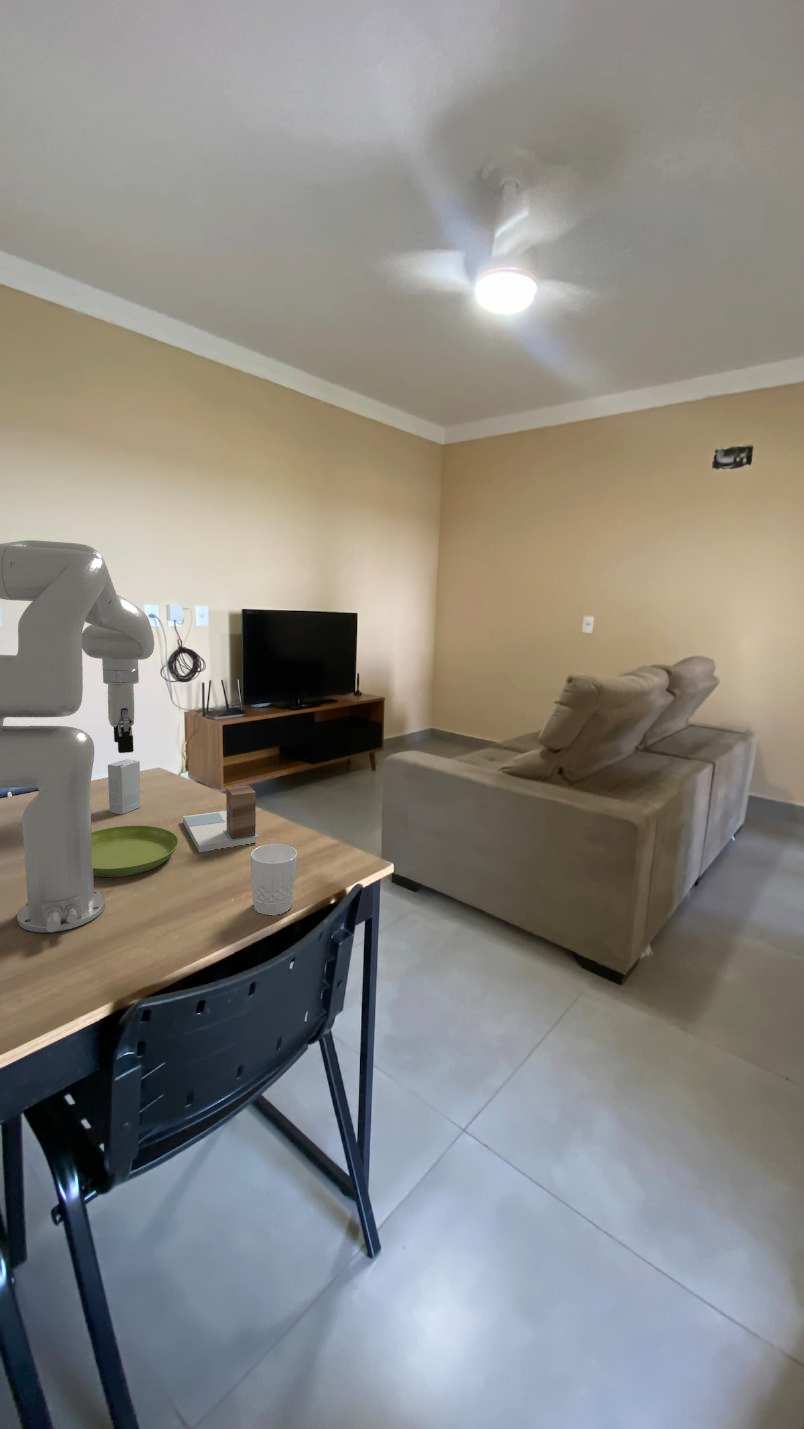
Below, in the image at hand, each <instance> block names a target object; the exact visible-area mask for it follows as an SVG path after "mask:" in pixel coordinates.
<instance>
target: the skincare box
mask: <svg viewBox="0 0 804 1429" xmlns="http://www.w3.org/2000/svg"><path fill="white" fill-rule="evenodd" d="M140 764H141V761H139V760H136V759H135V760H134V759H130V758H126V759H121V760H119V761H116V762H113V763H109V764H107V777H108V805H109V806H108V807H109V808H108V811H109V812H110V813H112V814H117V815H125V814H128V813H130V812H132V811H135V810H137V809H139V808H141V805H142V802H141V798H142V797H141V796H142V795H141V768H140V767H141V766H140Z"/></svg>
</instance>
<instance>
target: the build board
mask: <svg viewBox="0 0 804 1429" xmlns="http://www.w3.org/2000/svg"><path fill="white" fill-rule="evenodd" d="M182 823H183V825H184V827H185V829H186V832H187V833H188V835H189V836H190V838H191V840H192V842H193V843H194V846H195V847H196V849H197V851H198V853H205V852H211V850H212V851H215V850H214V849H218V850H222V849H221V848H224V849H226V848H225V847H230V848H233V847H232V846H236V845H243V844H248V843H255V842H256V843H257V838H260V836H261V835H259V834H258V833H257V830H255V836H250V837H244V838H237V839H232V838H231V836H230V835H229V834H228V832H227V810H221V811H220V810H219V811H214V812H205V813H197V814H190V815H183V816H182ZM256 843H255V844H256ZM243 846H244V845H243Z"/></svg>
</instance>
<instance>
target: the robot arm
mask: <svg viewBox="0 0 804 1429" xmlns="http://www.w3.org/2000/svg"><path fill="white" fill-rule="evenodd" d="M0 599H1V600H5V601H6V600H7V601H19V602H20V601H22V602H26V601H27V602H31V603H29V604H28V606H27V607H26V608H25V609H24V611H23V612H22V614H21V616H20V618H19V620H18V624H17V633H18V634H17V637H18V638H17V642H18V643H17V644H18V646H17V647H18V648H17V653H16V655H14V654H13V655H12V654H11V655H9V654H0V789H1V788H3V789H5V788H30V789H32V788H35V789H38V793H37V795H36V796H35V797H34V798H32V799H31V801H30V802H28V804H27V805H26V807H25V809H24V810H23V813H22V818H21V826H22V827H21V828H22V840H23V841H22V842H23V854H24V866H25V867H24V869H25V880H26V881H25V882H26V896H27V897H26V898H27V902H26V903H24V904H23V905H22V906H21V907H20V908H19V910H18V911H17V915H16V919H17V920H16V921H17V924H18V926H19V927H21V928H22V929H24V930H26V931H29V932H34V933H42V934H43V933H56V932H62V931H66V930H67V931H68V930H72V929H75V928H78V927H80V926H82V925H86V924H87V923H89V922H91V921H93V920H94V919H95V918H97V917H99V915H100V914H101V913H102V912H103V911H104V910H105V906H106V899H105V896H104V895H103V894H102V893H101V892H100V891H97V890H95V881H94V875H93V854H92V832H93V831H92V815H91V812H92V811H91V788H92V787H91V785H92V776H93V768H94V762H95V761H94V760H95V743H94V740H93V739H92V737H91V736H90V735H89V734H88V733H87V732H86V731H84V730H82V729H80V728H77V727H73V726H72V727H71V726H66V725H65V726H64V725H4V720H5V718H63V717H68V716H71V715H73V714H75V713H77V712H78V711H79V709H80V708H81V706H82V702H83V690H84V689H83V688H84V687H83V686H84V682H83V680H84V678H83V671H84V670H83V652H84V654H85V655H86V656H89V657H90V658H94V659H99V660H101V663H102V664H101V665H102V683H103V684H106V685H107V707H108V709H107V710H108V712H107V715H108V718H107V719H108V721H109V724H110V726H111V727H113V741H114V743H117V752H118V753H119V754H127V753H133V752H134V751H135V750H134V735H133V730H132V726H133V725H134V724H135V692H134V691H135V690H134V685H135V684H138V683H139V681H140V680H139V679H140V677H139V661H142V660H143V661H144V660H147V659H148V658H150V657H151V656H152V655H153V653H154V650H155V636H154V632H153V629H152V625H151V623H150V622H151V621H150V619H149V617H148V615H147V614H146V613H145V612H144V611H143V610H142V609H141V608H140V607H139V606H137V605H135V604H134V603H133V602H131V601H129V600H128V599H127V598H124V597H123V596H121V595H119V594H117V592H116V589H115V587H114V584H113V581H112V578H111V575H110V572H109V570H108V566H107V564H106V562H105V560H104V558H103V556H102V554H101V553H100V552H99V551H98V550H97V549H95V548H94V547H92V546H90V545H86V544H84V543H83V544H82V543H75V542H64V541H63V542H62V541H50V540H48V541H47V540H34V539H33V540H19V541H12V542H6V543H5V542H4V543H0ZM85 623H87V624H89V625H88V626H87V627H86V628H84V626H85Z"/></svg>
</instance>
